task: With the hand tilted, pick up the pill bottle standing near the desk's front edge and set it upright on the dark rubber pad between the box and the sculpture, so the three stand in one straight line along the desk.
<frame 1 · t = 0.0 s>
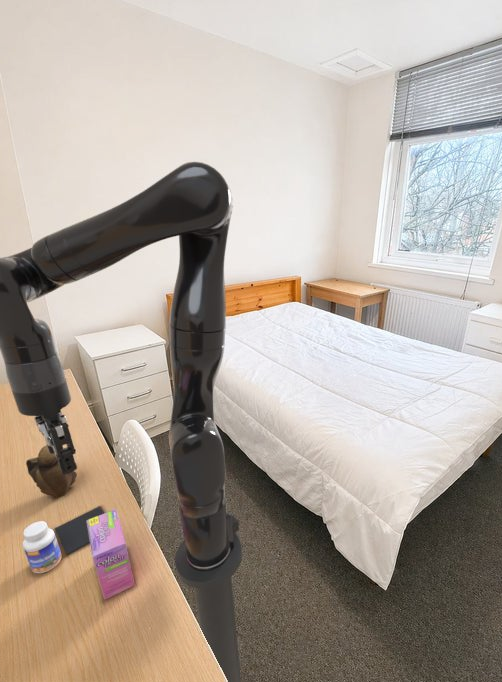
hand: (62, 460, 65), 27 cm above the table, tool pointing down, fingers open, 8 cm apart
pill bottle: (47, 563, 75), on the table
sculpture: (59, 494, 94), on the table
box: (116, 573, 73), on the table
pad: (85, 529, 83), on the table
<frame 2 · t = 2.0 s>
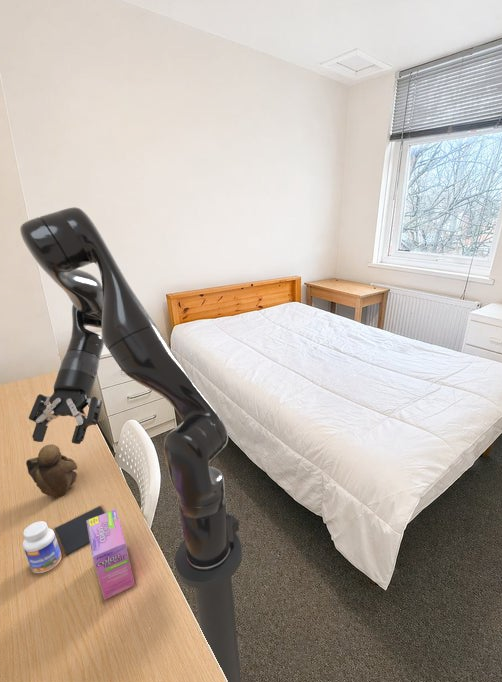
hand: (56, 442, 77), 23 cm above the table, tool tilted 45°, fingers open, 8 cm apart
nothing on the table moved.
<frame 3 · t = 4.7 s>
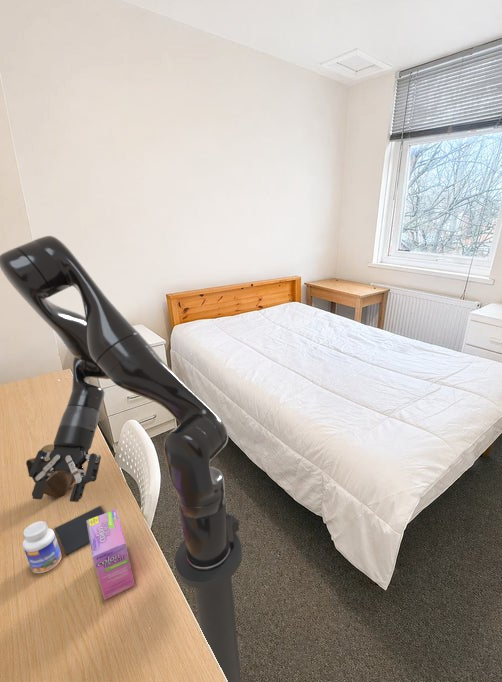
hand: (55, 500, 77), 11 cm above the table, tool tilted 45°, fingers open, 8 cm apart
nothing on the table moved.
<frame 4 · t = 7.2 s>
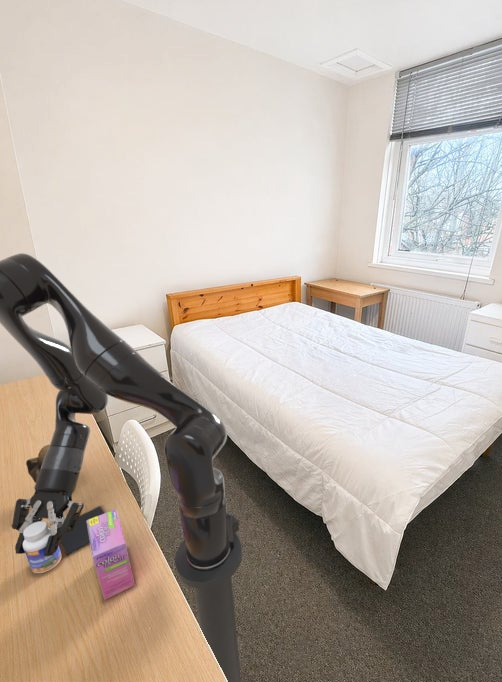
hand: (34, 554, 72), 5 cm above the table, tool tilted 45°, fingers closed on pill bottle, 5 cm apart
pill bottle: (47, 563, 75), on the table, touching gripper
everything else where it was.
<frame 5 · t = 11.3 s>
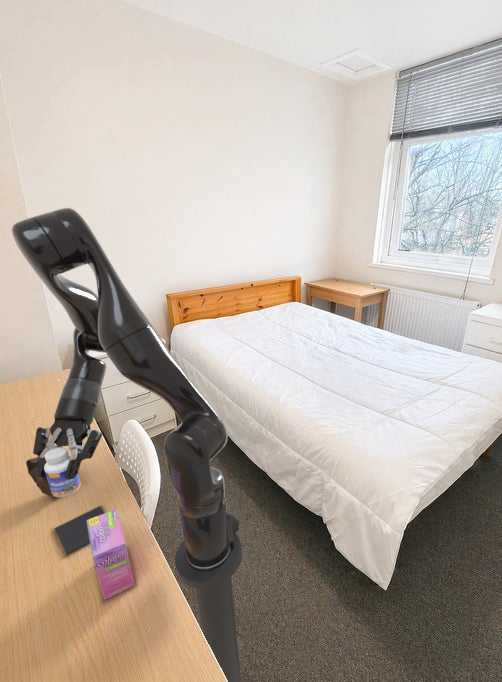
hand: (55, 477, 74), 18 cm above the table, tool tilted 45°, fingers closed on pill bottle, 5 cm apart
pill bottle: (67, 490, 77), point 13 cm above the table, touching gripper
everything else where it was.
when the fingers open (5 cm above the table, at t = 15.2 s): pill bottle stays where it is, resting on pad.
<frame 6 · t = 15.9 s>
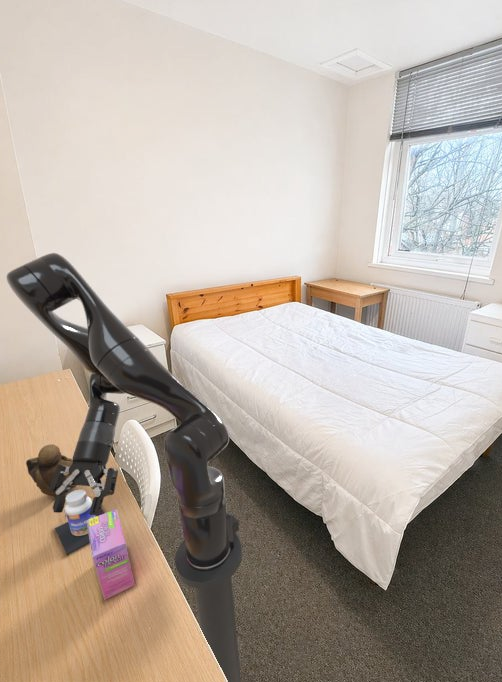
hand: (75, 513, 80), 6 cm above the table, tool tilted 45°, fingers open, 8 cm apart
pill bottle: (85, 528, 83), resting on pad
everything else where it was.
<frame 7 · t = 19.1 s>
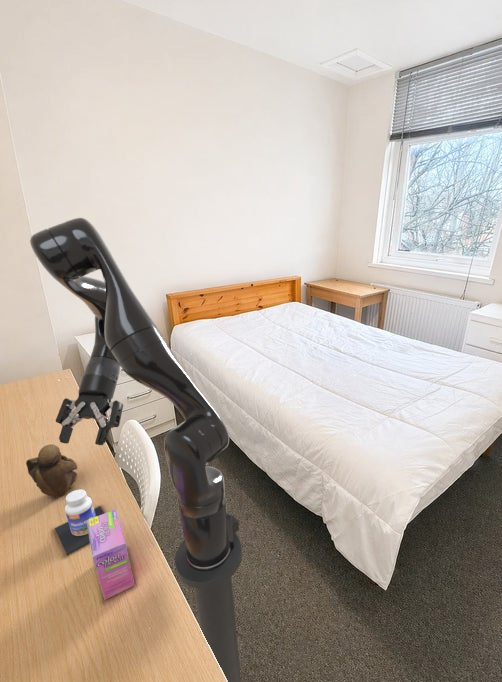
hand: (81, 443, 81), 20 cm above the table, tool tilted 45°, fingers open, 8 cm apart
nothing on the table moved.
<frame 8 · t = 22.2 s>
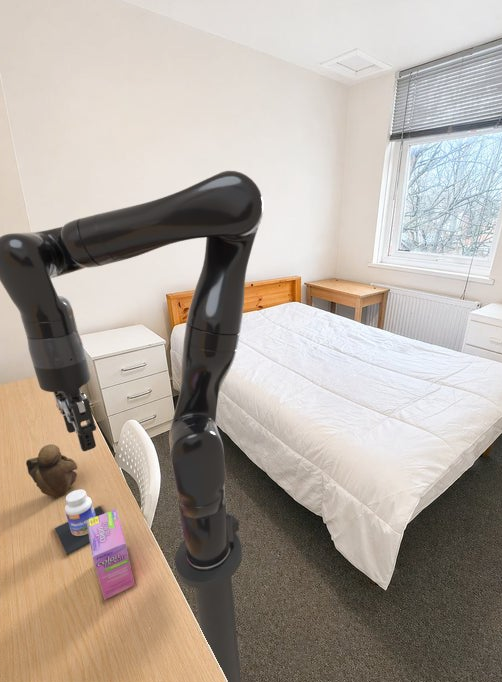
hand: (81, 439, 65), 30 cm above the table, tool pointing down, fingers open, 8 cm apart
nothing on the table moved.
at the end: pill bottle inside the target area on the table beside the sculpture (0.2 cm from its centre), resting on pad; pill bottle tilted 0°; box moved 0.2 cm from its start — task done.
